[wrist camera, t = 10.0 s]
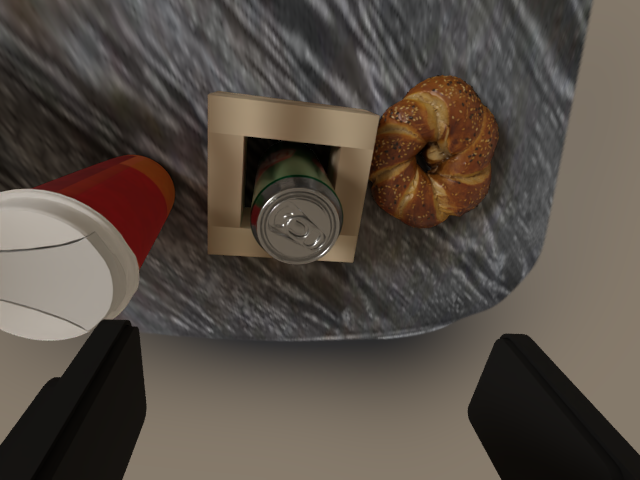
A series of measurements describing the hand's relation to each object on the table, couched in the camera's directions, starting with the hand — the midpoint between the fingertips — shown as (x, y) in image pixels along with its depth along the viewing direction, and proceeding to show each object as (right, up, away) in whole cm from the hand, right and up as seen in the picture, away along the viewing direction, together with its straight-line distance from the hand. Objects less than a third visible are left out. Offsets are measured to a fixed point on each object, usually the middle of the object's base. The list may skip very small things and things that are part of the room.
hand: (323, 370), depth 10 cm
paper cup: (-14, +7, +19) cm, 25 cm away
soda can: (-3, +9, +20) cm, 22 cm away
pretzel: (+9, +11, +21) cm, 25 cm away
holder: (-3, +9, +20) cm, 22 cm away
